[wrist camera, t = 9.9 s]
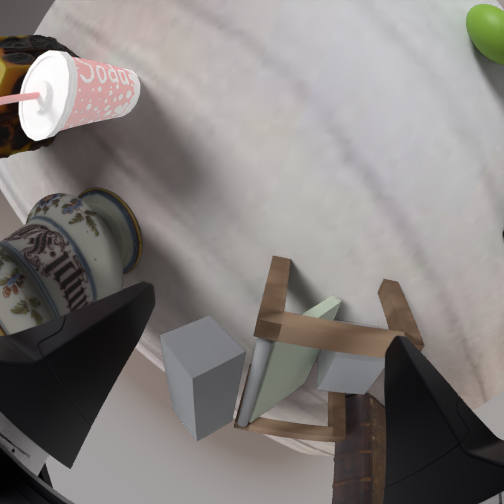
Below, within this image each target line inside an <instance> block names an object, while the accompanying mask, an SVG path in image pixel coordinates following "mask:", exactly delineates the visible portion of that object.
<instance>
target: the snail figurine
mask: <svg viewBox="0 0 504 504" xmlns="http://www.w3.org/2000/svg"><path fill="white" fill-rule="evenodd" d="M466 26H467V31H468V34H469V36H470V38H471V40H472V42H473V43H474V45H475V46H476V47H477V49H478V50H479V51H480V52H481V53H482V54H483V55H484V56H486V57H487V58H488V59H490V60H491V61H493V62H495V63H498V64H501V65H504V11H503V10H501V9H499V8H497V7H495V6H492V5H488V4H479V5H476V6H474V7H472V8H471V9H470V11H469V12H468V14H467V18H466Z"/></svg>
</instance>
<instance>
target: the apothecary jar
mask: <svg viewBox="0 0 504 504" xmlns="http://www.w3.org/2000/svg"><path fill="white" fill-rule="evenodd" d="M141 250H142V240H141V234H140V230H139V227H138V224H137V221H136V219H135V217H134V215H133V213H132V212H131V210H130V209H129V207H128V206H127V205H126V204H125V202H124V201H123V200H121V199H120V198H119V197H118V196H117V195H115V194H114V193H112V192H110V191H108V190H105V189H102V188H91V189H88V190H86V191H84V192H82V193H81V194H80V195H79V196H78V197H75V196H72V195H69V194H64V193H57V194H52V195H48V196H46V197H44V198H42V199H41V200H40V201H38V202H37V203H36V204H35V205H34V207H33V208H32V210H31V211H30V213H29V215H28V218H27V221H26V224H25V225H24V226H22V227H21V228H20V229H19V230H17V231H16V232H14V233H13V234H11V235H10V236H8V237H7V238H5V239H4V240H2V241H1V242H0V336H5V335H10V334H14V333H16V332H19V331H22V330H25V329H28V328H31V327H34V326H37V325H40V324H43V323H45V322H48V321H50V320H53V319H55V318H58V317H60V316H62V315H65V314H66V315H67V313H69V312H72V311H74V310H76V309H79V308H81V307H83V306H86V305H88V304H90V303H93V302H95V301H97V300H100V299H102V298H104V297H107V296H109V295H111V294H114V293H116V292H119V291H121V290H122V287H123V275H124V274H127V273H129V272H130V271H131V270H133V269H134V267H135V266H136V265H137V263H138V261H139V259H140V256H141Z"/></svg>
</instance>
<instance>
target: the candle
mask: <svg viewBox="0 0 504 504" xmlns="http://www.w3.org/2000/svg"><path fill="white" fill-rule="evenodd" d="M49 50H51V51H62V52H68V54H69V55H70V56H71V57H76V58H79V56H77V55H75V54H74V53H73V52H72V51H71V50H69V49H67V47H66V46H65V47H64V45H61V44H60V43H58V42H57V41H56V40H55V38H52V37H44V36H41V35H33V36H32V35H27V36H8V37H0V97H4V96H10V95H17V94H20V92H21V88H22V84H23V81H24V79H25V76H26V74H27V72H28V70H29V68H30V67H31V65H32V64H33V63H34V62H35V61H36V59H37V58H38V57H39V56H40V55H42V54H44V53H46V52H47V51H49ZM54 137H55V135H54V136H52V137H49V138H46V139H42V140H38V141H35V140H33V139H31V138H29V137H27V135H26V133H25V132H24V130H23V128H22V126H21V122H20V117H19V102H14V103H8V104H2V105H0V158H8V157H9V156H10V155H13V154H16V153H19V152H25V151H34V150H36V149H39V148H40V147H42V146H44V147H48V146H49V145H50V144H52V141H53V139H54Z"/></svg>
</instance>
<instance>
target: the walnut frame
mask: <svg viewBox="0 0 504 504" xmlns="http://www.w3.org/2000/svg"><path fill="white" fill-rule="evenodd" d="M290 261H291V259H287V258H282V257H277V256H273V258H272V262H271V266H270V270H269V274H268V278H267V282H266V286H265V290H264V294H263V298H262V302H261V306H260V310H259V314H258V318H257V322H256V327H255V332H254V336H255V337H259V338H264V339H269V340H273V341H278V342H283V343H289V344H294V345H299V346H305V347H310V348H316V349H322V350H329V351H335V352H342V353H349V354H356V355H364V356H373V357H382V358H385V352H386V350H387V348H388V347H389V345H390V343H391V342H392V340H393V338H394V337H395V336H396V335H401V336H406V337H407V338H408V339H409V340H410V341H411V342H412V343H413V344H414V345H415V346H416V347H417V349H418V350H419V351H420V352H421V350H422V349H423V347H424V343H423V340H422V338H421V335H420V332H419V330H418V327H417V325H416V322H415V320H414V317H413V315H412V313H411V310H410V308H409V306H408V303H407V301H406V299H405V296H404V294H403V292H402V290H401V288H400V285H399V283H398V282H396V281H391V280H387V279H383V282H382V284H381V286H380V289H379V291H378V295H379V298H380V301H381V304H382V307H383V311H384V314H385V317H386V320H387V324H388V327H389V330H387V329H380V328H373V327H367V326H361V325H355V324H349V323H343V322H337V321H331V320H326V319H320V318H315V317H310V316H304V315H299V314H294V313H289V312H284V308H285V301H286V293H287V286H288V278H289V270H290ZM250 368H251V364H250V366H249V370H248V374H247V378H246V382H245V386H244V390H243V393H242V397H241V401H240V405H239V409H238V412H237V416H236V420H235V424H234V428H238V429H242V430H247V431H252V432H257V433H262V434H268V435H274V436H280V437H287V438H295V439H303V440H313V441H324V442H341V441H342V440H343V439H345V438H346V415H345V393H341V392H332V391H328V427H326V426H315V425H306V424H299V423H291V422H285V421H278V420H272V419H267V418H262V417H258V418H256V419H255V420H253V421H252V422H249V421H248V424H247V426H245V427H241V426H239V425H238V418H239V414H240V410H241V406H242V402H243V398H244V393H245V389H246V385H247V381H248V376H249V372H250Z"/></svg>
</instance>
